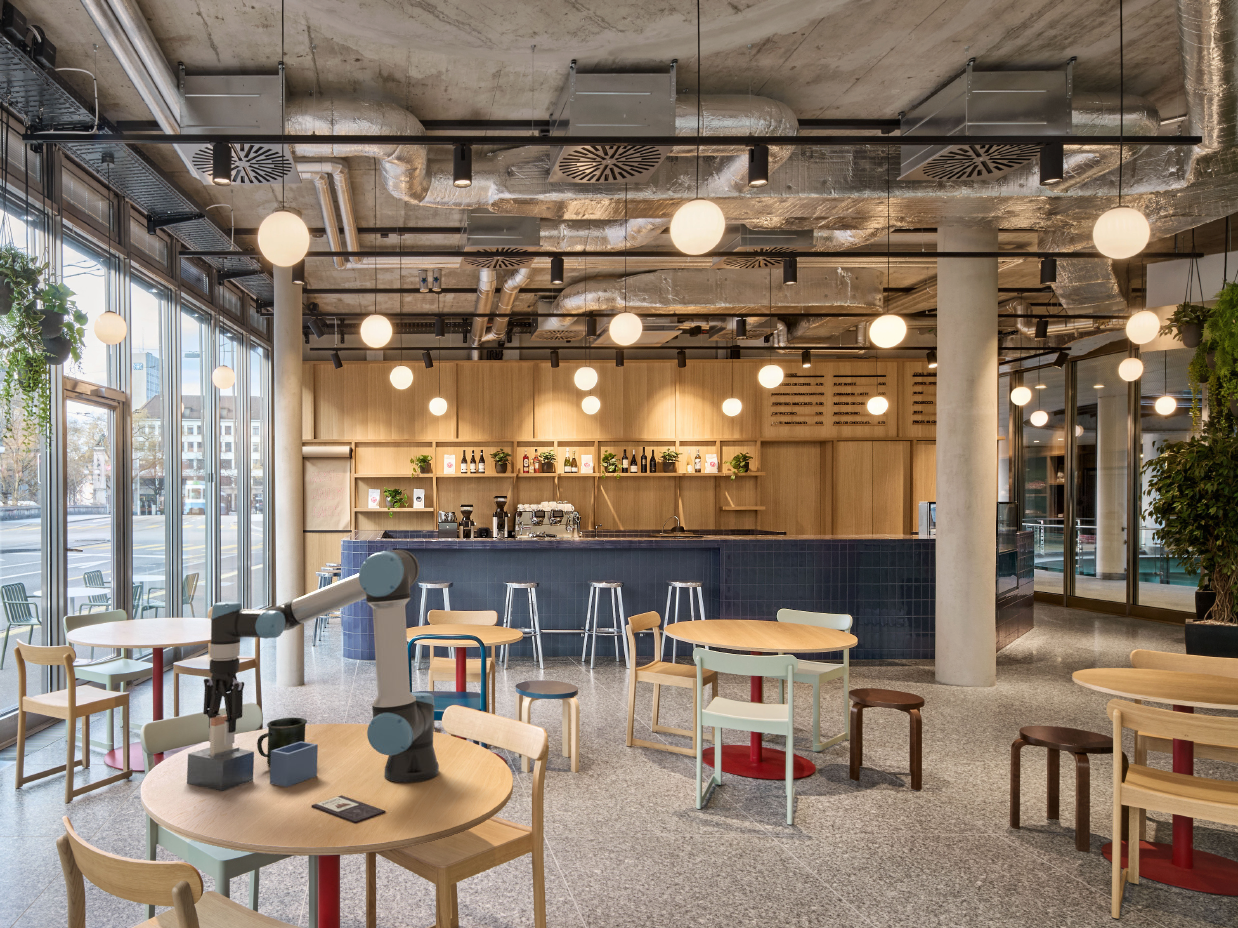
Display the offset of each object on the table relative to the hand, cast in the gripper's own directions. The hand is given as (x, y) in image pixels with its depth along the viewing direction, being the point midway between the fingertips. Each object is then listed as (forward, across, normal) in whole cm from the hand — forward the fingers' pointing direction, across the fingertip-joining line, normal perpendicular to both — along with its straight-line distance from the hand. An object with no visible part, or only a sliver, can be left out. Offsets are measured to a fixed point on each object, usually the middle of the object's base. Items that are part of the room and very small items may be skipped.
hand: (221, 742), depth 229 cm
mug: (+11, -2, -19) cm, 22 cm away
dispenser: (+11, 0, 0) cm, 11 cm away
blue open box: (+11, -16, -11) cm, 22 cm away
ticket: (+9, 0, 0) cm, 9 cm away
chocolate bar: (+11, -46, -1) cm, 47 cm away
